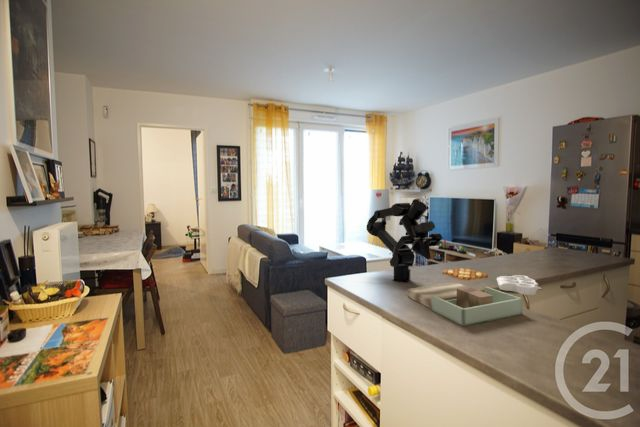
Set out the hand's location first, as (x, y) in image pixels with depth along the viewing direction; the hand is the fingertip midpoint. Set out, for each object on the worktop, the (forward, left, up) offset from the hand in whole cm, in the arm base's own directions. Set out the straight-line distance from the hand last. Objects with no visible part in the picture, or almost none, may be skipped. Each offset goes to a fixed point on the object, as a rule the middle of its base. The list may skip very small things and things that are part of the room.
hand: (429, 258), depth 127 cm
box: (+16, -16, -13) cm, 26 cm away
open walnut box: (+12, -12, -10) cm, 20 cm away
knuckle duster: (+32, +18, -14) cm, 39 cm away
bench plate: (+6, -6, -13) cm, 16 cm away
